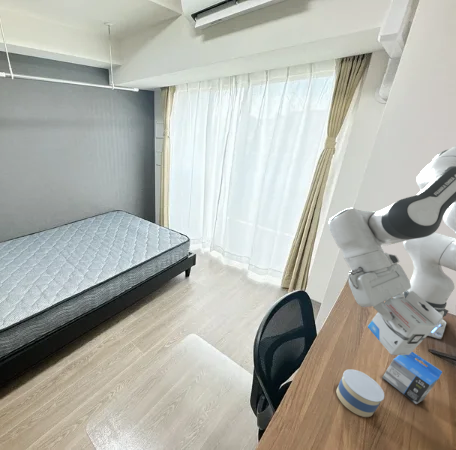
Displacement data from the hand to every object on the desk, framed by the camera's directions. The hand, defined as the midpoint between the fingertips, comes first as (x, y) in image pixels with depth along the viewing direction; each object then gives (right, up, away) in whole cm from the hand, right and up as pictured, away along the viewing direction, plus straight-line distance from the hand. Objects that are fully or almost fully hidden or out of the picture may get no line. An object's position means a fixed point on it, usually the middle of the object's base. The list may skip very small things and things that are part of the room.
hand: (397, 315), depth 63 cm
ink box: (0, -8, +3) cm, 8 cm away
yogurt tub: (-4, -28, +8) cm, 30 cm away
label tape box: (+14, -27, +12) cm, 33 cm away
